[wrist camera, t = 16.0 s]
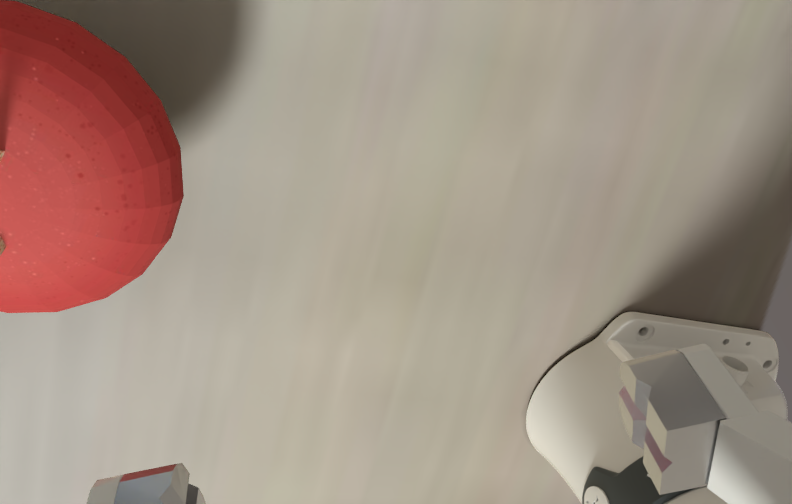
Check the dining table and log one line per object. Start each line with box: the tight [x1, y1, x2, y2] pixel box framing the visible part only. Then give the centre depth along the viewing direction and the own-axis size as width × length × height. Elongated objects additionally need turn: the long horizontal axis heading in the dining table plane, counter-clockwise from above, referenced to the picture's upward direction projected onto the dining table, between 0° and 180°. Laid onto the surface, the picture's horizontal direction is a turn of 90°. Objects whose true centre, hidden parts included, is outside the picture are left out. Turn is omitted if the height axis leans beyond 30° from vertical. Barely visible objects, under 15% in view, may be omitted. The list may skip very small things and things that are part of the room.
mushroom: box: [0, 0, 184, 313], centre depth 32 cm, size 16×16×15 cm
